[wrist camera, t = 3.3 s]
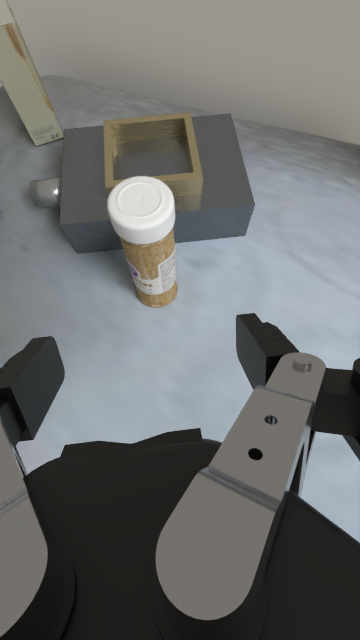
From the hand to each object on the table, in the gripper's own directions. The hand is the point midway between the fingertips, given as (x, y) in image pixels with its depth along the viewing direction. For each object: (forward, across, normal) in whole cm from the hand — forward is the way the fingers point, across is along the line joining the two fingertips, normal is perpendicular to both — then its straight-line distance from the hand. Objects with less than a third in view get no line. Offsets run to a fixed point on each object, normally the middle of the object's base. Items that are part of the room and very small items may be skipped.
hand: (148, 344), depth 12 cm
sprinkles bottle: (+19, 0, +4) cm, 19 cm away
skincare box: (+39, +14, -16) cm, 44 cm away
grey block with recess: (+28, +1, -6) cm, 29 cm away
